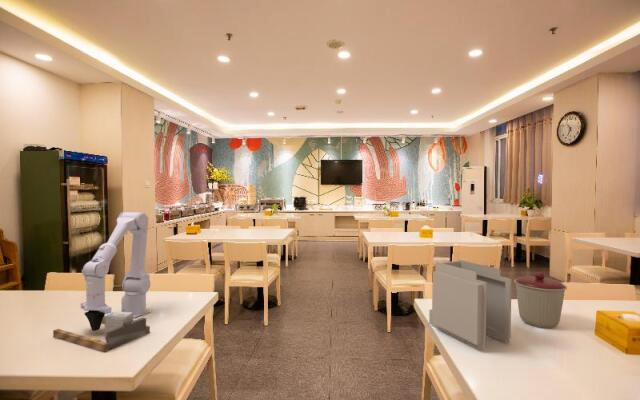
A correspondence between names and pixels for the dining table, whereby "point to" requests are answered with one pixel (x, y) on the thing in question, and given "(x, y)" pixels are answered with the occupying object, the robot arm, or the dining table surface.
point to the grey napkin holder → (471, 302)
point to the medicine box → (116, 320)
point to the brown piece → (108, 335)
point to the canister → (540, 300)
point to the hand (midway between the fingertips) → (95, 329)
